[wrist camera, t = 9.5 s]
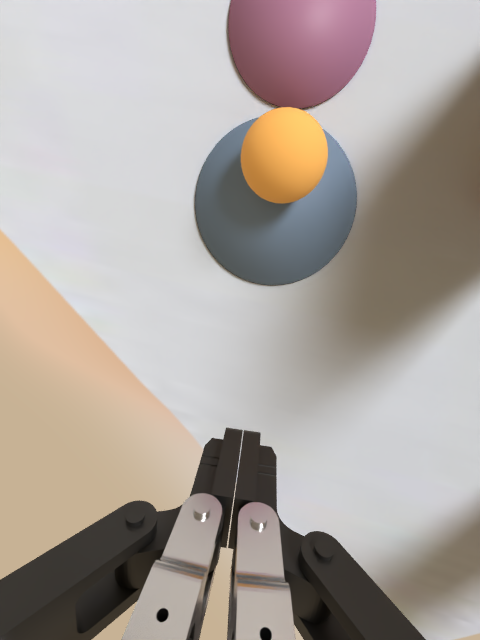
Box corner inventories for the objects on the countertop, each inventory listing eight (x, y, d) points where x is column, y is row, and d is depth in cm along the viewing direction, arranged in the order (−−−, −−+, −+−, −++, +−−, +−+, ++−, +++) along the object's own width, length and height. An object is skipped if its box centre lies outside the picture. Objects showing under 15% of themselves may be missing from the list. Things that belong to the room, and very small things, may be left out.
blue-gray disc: (374, 125, 25) (375, 125, 24) (336, 293, 29) (336, 294, 29) (202, 106, 25) (201, 105, 25) (190, 273, 30) (190, 274, 29)
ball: (353, 125, 19) (311, 223, 22) (333, 126, 25) (301, 206, 28) (257, 87, 19) (226, 193, 22) (257, 96, 24) (232, 181, 27)
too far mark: (392, -64, 21) (393, -67, 21) (355, 115, 25) (356, 115, 24) (237, -78, 22) (237, -81, 21) (222, 100, 25) (221, 99, 25)
